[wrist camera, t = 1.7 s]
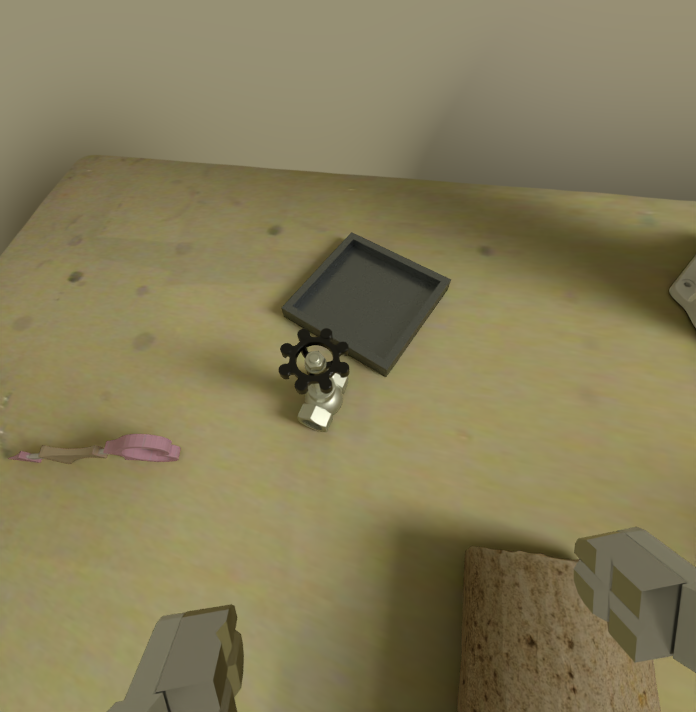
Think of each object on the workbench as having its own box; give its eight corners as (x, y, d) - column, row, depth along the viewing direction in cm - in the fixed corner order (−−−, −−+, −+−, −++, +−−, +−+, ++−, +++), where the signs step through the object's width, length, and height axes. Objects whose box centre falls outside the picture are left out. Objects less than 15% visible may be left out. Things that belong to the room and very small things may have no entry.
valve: (288, 420, 42) (263, 377, 32) (311, 372, 45) (296, 317, 35) (340, 441, 41) (334, 402, 30) (361, 390, 44) (361, 338, 33)
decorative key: (40, 460, 44) (192, 449, 41) (37, 470, 43) (191, 460, 40) (-19, 446, 38) (153, 432, 35) (-25, 458, 38) (150, 445, 34)
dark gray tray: (351, 242, 55) (351, 232, 53) (447, 289, 50) (450, 279, 49) (284, 316, 49) (281, 307, 47) (386, 377, 44) (387, 369, 43)
